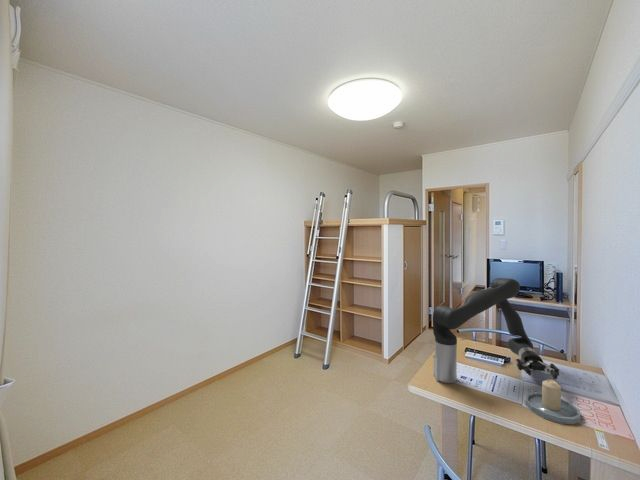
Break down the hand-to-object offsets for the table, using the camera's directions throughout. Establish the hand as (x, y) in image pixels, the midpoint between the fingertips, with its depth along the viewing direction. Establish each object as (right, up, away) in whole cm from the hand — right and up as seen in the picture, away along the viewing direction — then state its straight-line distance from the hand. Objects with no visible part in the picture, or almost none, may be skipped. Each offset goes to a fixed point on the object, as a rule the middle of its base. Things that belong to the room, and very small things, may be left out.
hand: (542, 375), depth 117 cm
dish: (-4, -9, -9) cm, 13 cm away
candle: (-4, -8, -9) cm, 13 cm away
